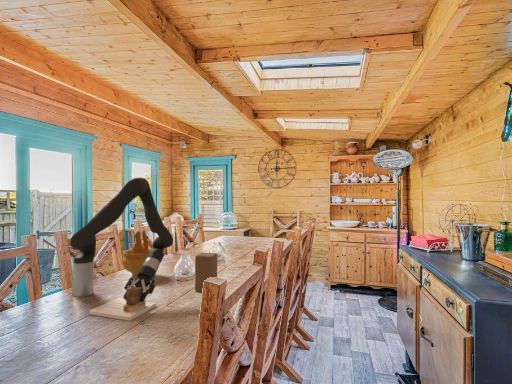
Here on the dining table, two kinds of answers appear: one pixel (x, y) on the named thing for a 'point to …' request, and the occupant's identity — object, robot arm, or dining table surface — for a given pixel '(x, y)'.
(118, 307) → the board
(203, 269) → the wooden block
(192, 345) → the dining table surface
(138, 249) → the mustard brown vase
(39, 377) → the dining table surface
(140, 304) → the block
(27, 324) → the dining table surface
